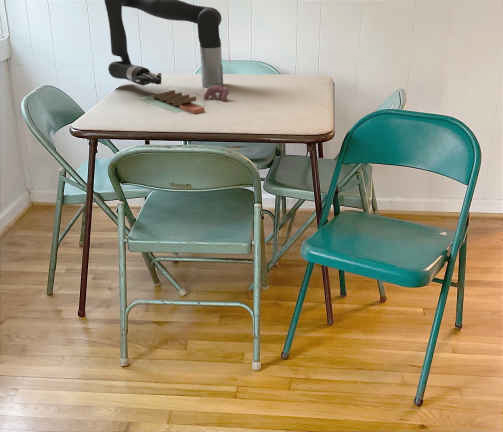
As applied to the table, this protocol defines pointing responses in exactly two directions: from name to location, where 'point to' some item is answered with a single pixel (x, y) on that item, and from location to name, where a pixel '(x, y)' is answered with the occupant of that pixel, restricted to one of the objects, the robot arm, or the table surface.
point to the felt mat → (163, 104)
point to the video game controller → (216, 89)
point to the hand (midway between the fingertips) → (159, 81)
